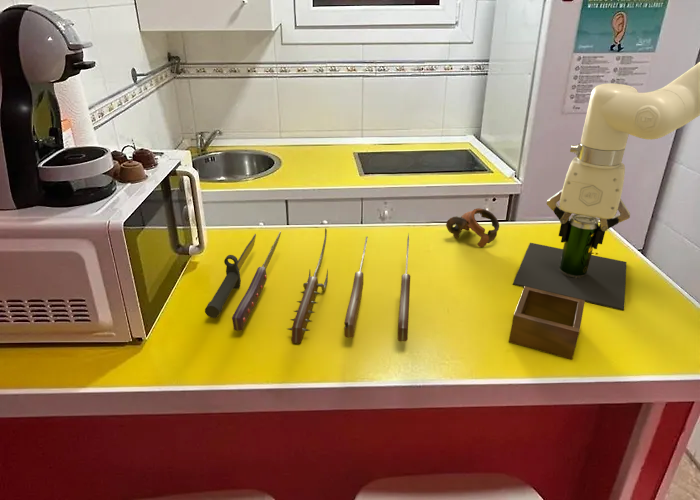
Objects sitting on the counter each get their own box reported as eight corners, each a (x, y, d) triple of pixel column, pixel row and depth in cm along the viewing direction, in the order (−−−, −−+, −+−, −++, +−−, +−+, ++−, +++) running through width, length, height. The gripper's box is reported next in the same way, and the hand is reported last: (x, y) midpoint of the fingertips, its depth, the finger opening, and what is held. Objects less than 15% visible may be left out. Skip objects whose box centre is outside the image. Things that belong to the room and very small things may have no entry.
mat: (626, 263, 111) (626, 261, 111) (623, 310, 95) (624, 309, 95) (529, 243, 119) (530, 242, 118) (512, 284, 103) (512, 283, 103)
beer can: (558, 275, 105) (570, 222, 100) (558, 263, 110) (570, 211, 104) (586, 280, 104) (600, 226, 98) (586, 268, 108) (599, 215, 102)
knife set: (411, 252, 112) (412, 220, 108) (406, 355, 84) (408, 317, 80) (254, 245, 116) (250, 214, 112) (199, 341, 88) (191, 304, 84)
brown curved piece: (476, 228, 127) (495, 206, 121) (488, 259, 122) (508, 238, 116) (434, 222, 122) (451, 199, 116) (444, 254, 117) (463, 232, 111)
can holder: (578, 326, 91) (585, 300, 88) (572, 359, 83) (579, 331, 80) (519, 311, 94) (524, 286, 92) (508, 342, 87) (513, 314, 84)
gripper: (548, 153, 95) (531, 241, 104) (652, 167, 89) (625, 260, 97) (553, 143, 101) (537, 227, 110) (652, 156, 95) (626, 244, 103)
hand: (579, 242), depth 103 cm, fingers closed on beer can, 5 cm apart
